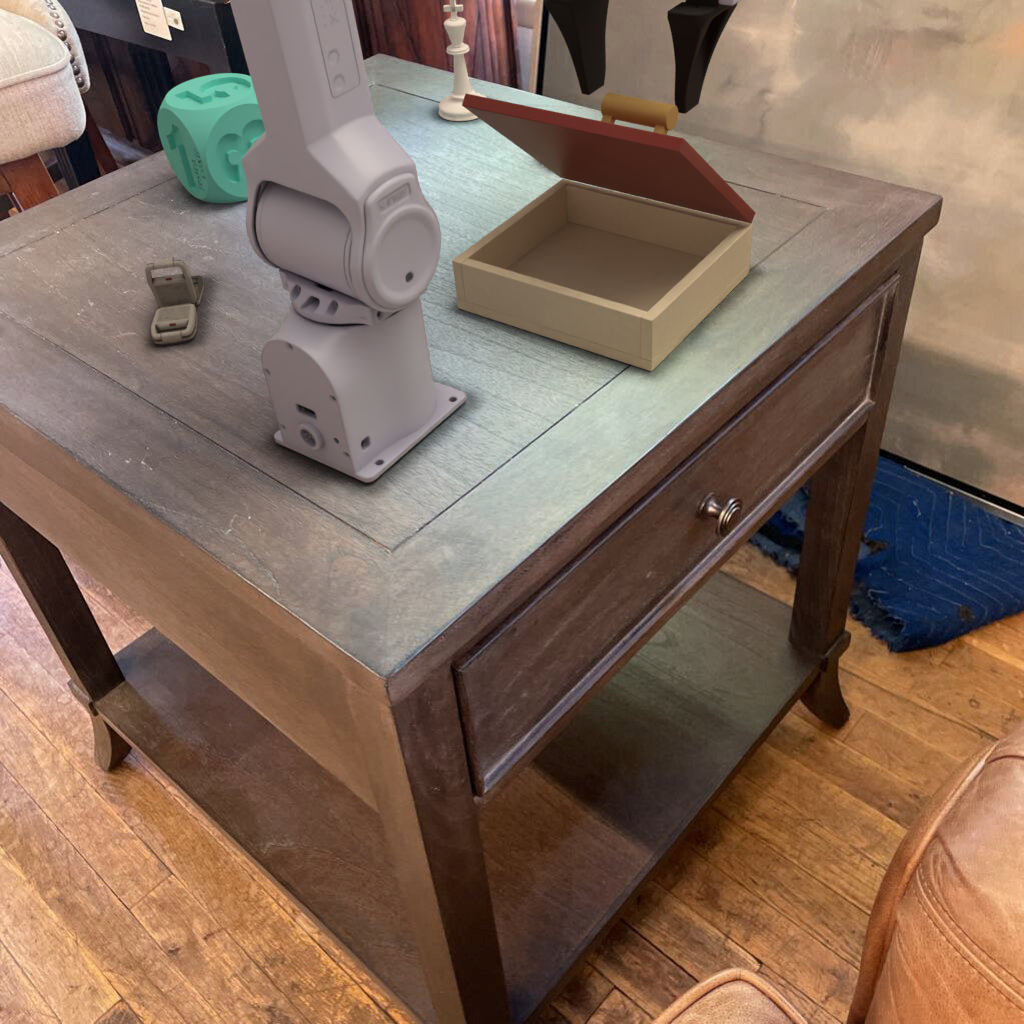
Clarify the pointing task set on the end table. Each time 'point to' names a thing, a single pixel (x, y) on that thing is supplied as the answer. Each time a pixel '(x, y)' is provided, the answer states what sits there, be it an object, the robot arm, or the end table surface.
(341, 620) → the end table surface
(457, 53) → the chess piece
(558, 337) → the hinged lid box
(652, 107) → the cover
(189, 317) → the strap clip
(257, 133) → the decorative dice
